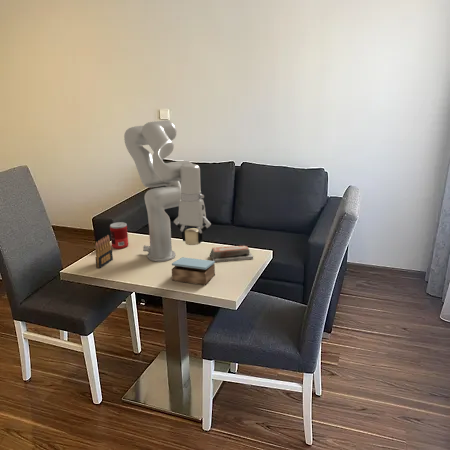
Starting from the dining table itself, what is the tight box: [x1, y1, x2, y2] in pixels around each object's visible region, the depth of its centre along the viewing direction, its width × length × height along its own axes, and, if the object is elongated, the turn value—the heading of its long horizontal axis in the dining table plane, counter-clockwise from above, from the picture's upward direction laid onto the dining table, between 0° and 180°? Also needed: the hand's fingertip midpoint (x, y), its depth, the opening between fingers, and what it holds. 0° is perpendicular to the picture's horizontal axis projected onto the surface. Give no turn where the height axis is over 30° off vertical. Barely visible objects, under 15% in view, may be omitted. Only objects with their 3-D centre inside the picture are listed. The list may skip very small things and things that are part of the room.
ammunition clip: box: [95, 234, 114, 269], centre depth 206 cm, size 11×2×12 cm, turn 162°
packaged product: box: [209, 245, 254, 263], centre depth 213 cm, size 18×5×10 cm
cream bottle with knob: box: [184, 227, 201, 246], centre depth 187 cm, size 6×6×5 cm
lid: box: [171, 256, 216, 270], centre depth 191 cm, size 14×10×1 cm
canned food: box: [109, 221, 129, 250], centre depth 227 cm, size 8×8×11 cm
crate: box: [171, 263, 216, 286], centre depth 192 cm, size 14×10×5 cm
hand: (192, 240), depth 188 cm, fingers closed on cream bottle with knob, 6 cm apart
